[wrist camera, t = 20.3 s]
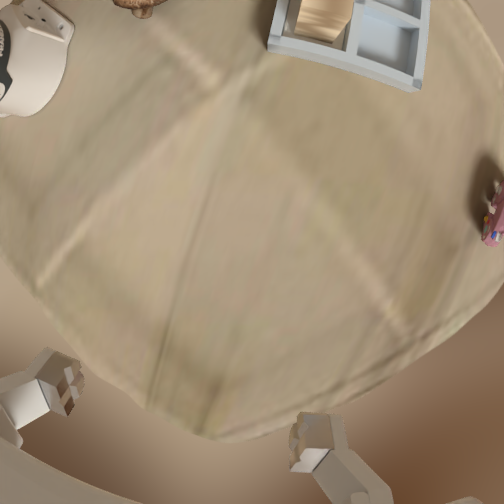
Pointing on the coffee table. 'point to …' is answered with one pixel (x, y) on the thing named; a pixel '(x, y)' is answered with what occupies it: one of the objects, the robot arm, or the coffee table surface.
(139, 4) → the mushroom
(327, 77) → the coffee table surface
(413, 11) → the divided tray
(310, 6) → the birch block
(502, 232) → the video game controller
